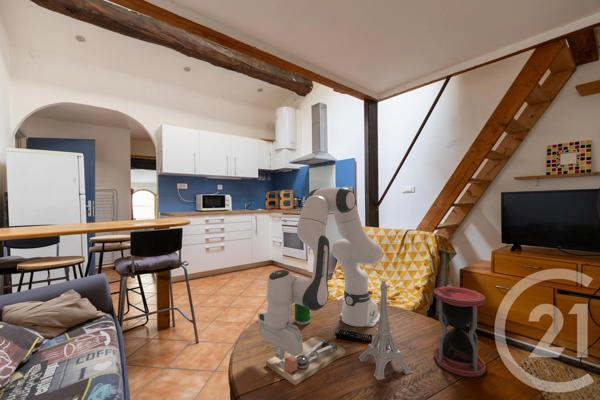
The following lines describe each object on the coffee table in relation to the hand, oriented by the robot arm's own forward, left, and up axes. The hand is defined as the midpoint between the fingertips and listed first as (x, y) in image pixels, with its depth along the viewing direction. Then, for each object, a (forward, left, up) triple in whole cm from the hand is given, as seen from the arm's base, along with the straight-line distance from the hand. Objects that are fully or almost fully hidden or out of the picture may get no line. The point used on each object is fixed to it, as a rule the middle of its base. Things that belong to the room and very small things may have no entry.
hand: (279, 357), depth 97 cm
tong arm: (-11, +5, -1) cm, 13 cm away
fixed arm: (-11, +8, -2) cm, 14 cm away
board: (-10, +3, -3) cm, 11 cm away
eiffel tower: (-27, +25, -4) cm, 37 cm away
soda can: (-31, -20, -3) cm, 37 cm away
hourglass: (-47, +43, -3) cm, 64 cm away
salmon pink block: (0, +6, -1) cm, 6 cm away
